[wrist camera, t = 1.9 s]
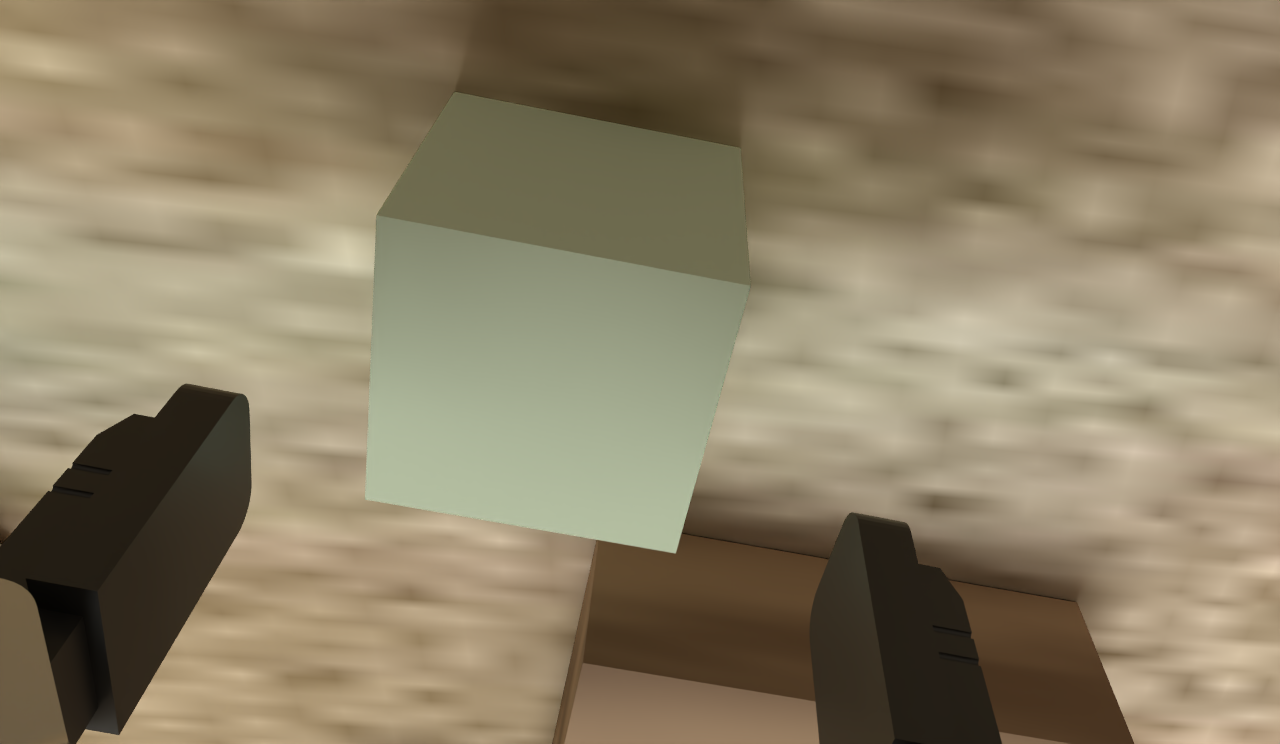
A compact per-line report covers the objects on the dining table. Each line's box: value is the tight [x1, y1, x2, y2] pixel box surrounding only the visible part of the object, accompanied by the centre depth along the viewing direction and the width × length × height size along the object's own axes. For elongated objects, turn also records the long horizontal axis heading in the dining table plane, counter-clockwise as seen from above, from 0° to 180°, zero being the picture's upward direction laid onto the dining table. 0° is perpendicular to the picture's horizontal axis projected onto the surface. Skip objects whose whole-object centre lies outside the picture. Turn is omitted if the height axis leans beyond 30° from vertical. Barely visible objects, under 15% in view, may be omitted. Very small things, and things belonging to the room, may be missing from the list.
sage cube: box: [365, 92, 751, 553], centre depth 17 cm, size 5×5×5 cm
